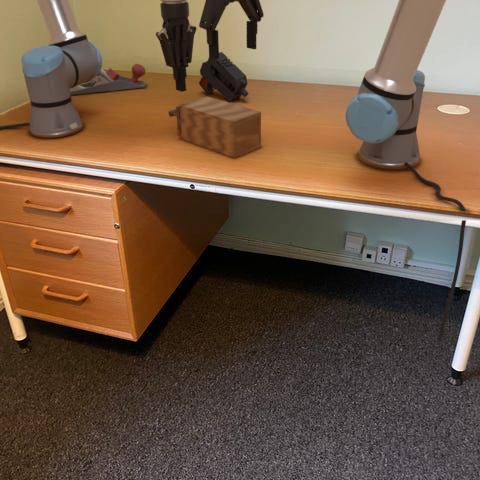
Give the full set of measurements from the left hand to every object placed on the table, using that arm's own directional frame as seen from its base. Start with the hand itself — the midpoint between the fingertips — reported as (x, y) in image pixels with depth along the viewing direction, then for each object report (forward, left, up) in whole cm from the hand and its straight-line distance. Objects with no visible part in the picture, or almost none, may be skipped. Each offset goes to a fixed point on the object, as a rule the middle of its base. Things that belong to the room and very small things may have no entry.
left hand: (181, 90), depth 153 cm
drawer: (+9, -5, -11) cm, 15 cm away
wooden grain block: (+14, -7, -12) cm, 20 cm away
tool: (+3, +34, -12) cm, 36 cm away
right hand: (+19, -10, +13) cm, 25 cm away
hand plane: (-44, +35, -12) cm, 57 cm away
